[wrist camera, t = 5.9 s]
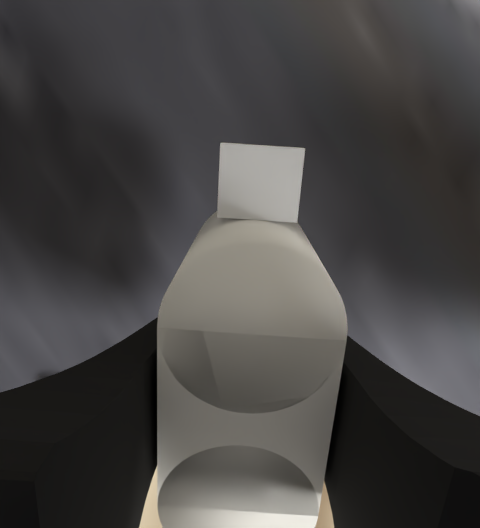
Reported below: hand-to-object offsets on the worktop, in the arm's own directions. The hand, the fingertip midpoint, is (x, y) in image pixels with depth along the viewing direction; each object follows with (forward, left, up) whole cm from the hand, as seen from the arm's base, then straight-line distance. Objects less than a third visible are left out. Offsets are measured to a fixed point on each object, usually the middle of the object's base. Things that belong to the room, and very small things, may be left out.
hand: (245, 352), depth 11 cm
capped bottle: (0, 0, -2) cm, 2 cm away
